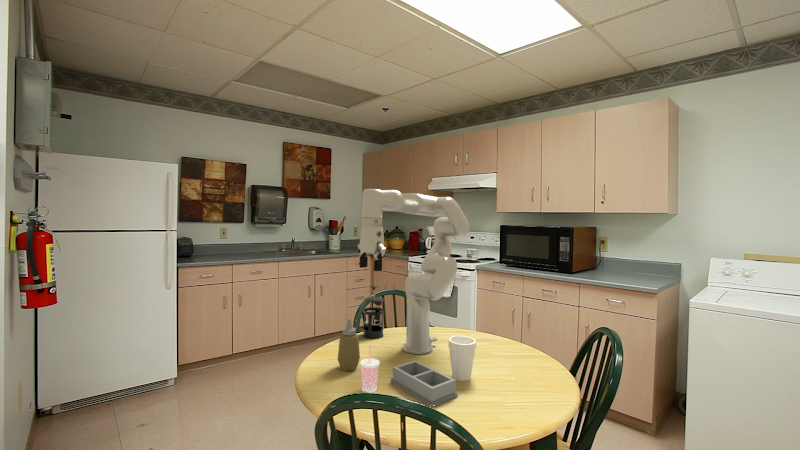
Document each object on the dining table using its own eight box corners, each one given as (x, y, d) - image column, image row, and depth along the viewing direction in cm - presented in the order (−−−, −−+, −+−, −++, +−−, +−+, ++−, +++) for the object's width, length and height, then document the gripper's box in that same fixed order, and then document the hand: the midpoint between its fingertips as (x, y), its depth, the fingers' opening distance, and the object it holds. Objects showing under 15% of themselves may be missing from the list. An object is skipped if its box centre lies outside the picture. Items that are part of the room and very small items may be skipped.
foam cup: (476, 373, 135) (477, 337, 135) (473, 384, 126) (474, 346, 126) (450, 369, 138) (451, 334, 138) (445, 380, 129) (445, 342, 129)
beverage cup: (363, 384, 125) (364, 342, 125) (381, 386, 124) (382, 344, 123) (357, 392, 119) (357, 348, 119) (375, 395, 118) (376, 350, 117)
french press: (378, 340, 168) (379, 288, 167) (359, 338, 170) (359, 287, 169) (387, 332, 179) (388, 284, 178) (368, 330, 182) (369, 282, 181)
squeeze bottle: (355, 374, 133) (356, 323, 132) (334, 371, 134) (334, 321, 134) (362, 365, 141) (363, 316, 140) (342, 362, 142) (342, 315, 142)
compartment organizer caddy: (390, 382, 127) (390, 367, 127) (415, 374, 134) (415, 359, 134) (431, 407, 111) (432, 390, 111) (457, 396, 118) (458, 380, 118)
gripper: (394, 223, 135) (392, 271, 135) (367, 222, 149) (366, 265, 149) (376, 223, 130) (374, 273, 131) (351, 221, 144) (349, 266, 145)
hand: (370, 269), depth 140 cm, fingers open, 9 cm apart
